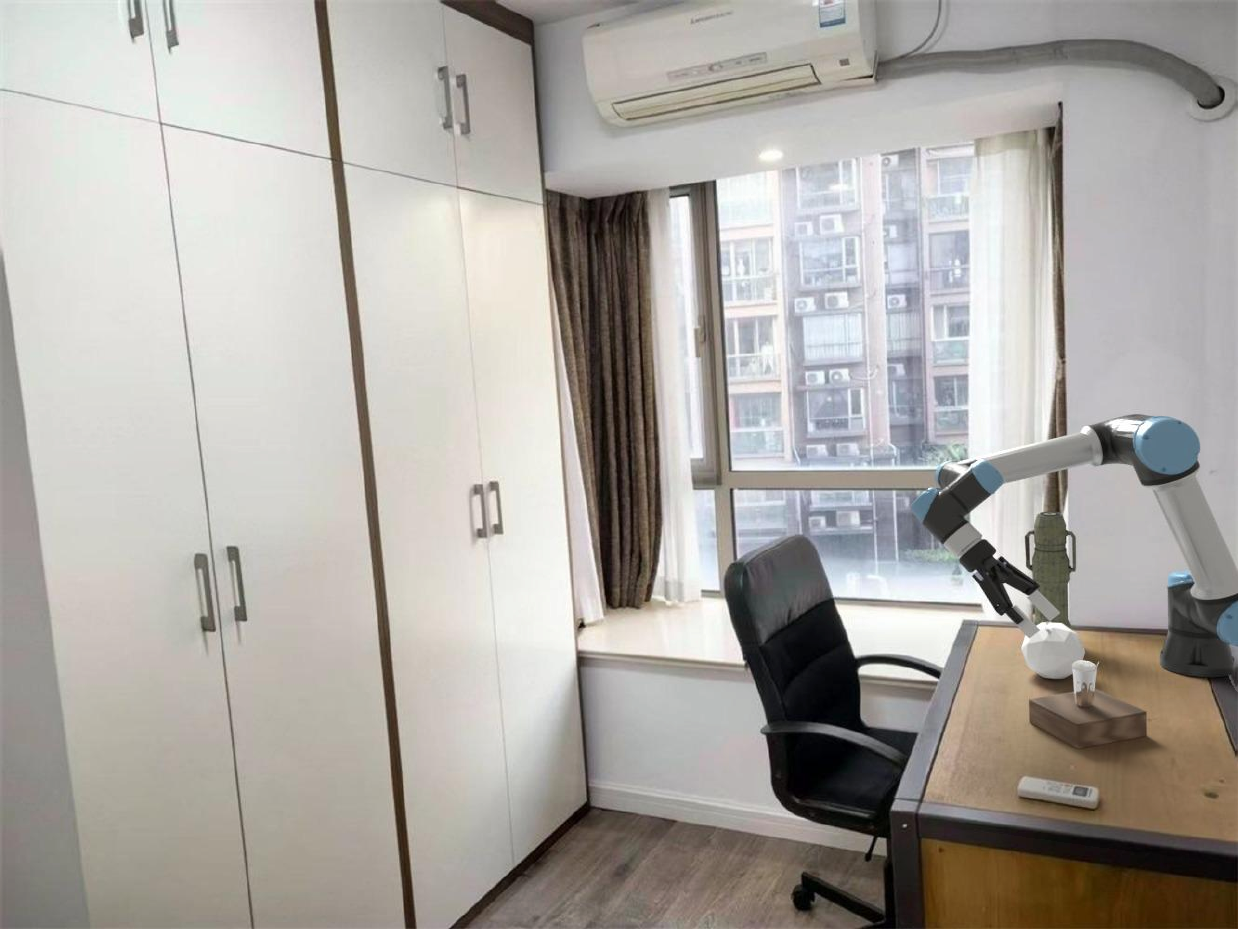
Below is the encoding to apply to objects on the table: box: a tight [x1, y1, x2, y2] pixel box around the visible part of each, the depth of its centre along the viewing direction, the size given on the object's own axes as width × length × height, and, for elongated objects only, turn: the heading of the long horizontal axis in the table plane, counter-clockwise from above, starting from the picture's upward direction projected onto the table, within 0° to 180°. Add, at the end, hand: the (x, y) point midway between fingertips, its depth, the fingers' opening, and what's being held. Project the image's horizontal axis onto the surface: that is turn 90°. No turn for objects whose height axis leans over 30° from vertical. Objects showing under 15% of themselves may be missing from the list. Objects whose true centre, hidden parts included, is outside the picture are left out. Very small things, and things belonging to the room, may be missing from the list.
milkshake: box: [1072, 659, 1100, 708], centre depth 181 cm, size 4×5×10 cm
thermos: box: [1024, 511, 1077, 630], centre depth 232 cm, size 9×12×35 cm
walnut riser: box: [1028, 688, 1148, 750], centre depth 182 cm, size 16×14×5 cm
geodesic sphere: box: [1020, 622, 1086, 680], centre depth 211 cm, size 14×14×14 cm
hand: (1045, 625), depth 185 cm, fingers open, 13 cm apart
